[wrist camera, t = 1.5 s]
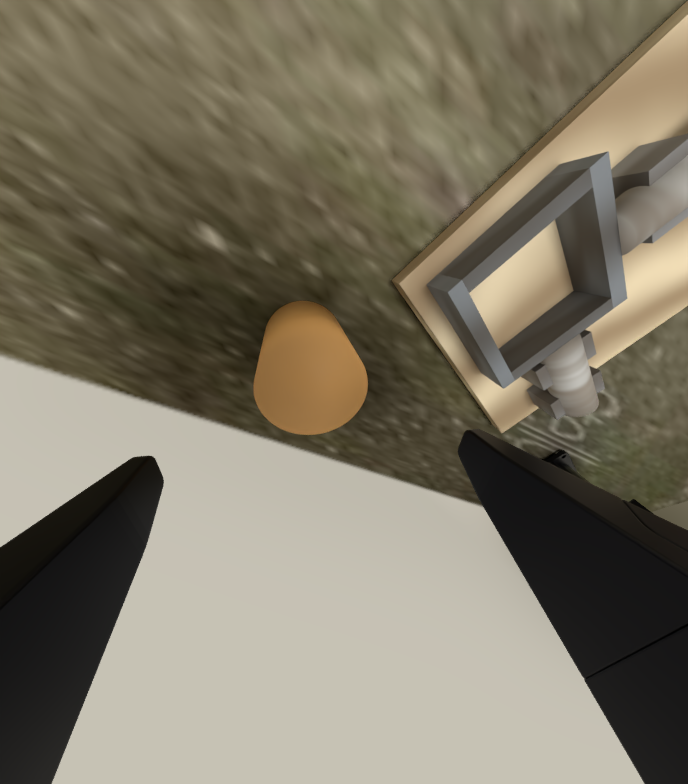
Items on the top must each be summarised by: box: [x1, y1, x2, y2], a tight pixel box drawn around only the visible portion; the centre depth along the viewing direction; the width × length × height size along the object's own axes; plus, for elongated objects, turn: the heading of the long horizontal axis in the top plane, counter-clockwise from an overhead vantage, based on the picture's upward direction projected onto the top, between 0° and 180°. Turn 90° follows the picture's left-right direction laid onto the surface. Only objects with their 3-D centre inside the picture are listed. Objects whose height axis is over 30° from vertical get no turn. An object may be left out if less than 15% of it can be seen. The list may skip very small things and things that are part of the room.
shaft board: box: [391, 0, 688, 433], centre depth 15 cm, size 16×20×4 cm
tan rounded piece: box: [253, 301, 368, 435], centre depth 13 cm, size 5×5×6 cm
